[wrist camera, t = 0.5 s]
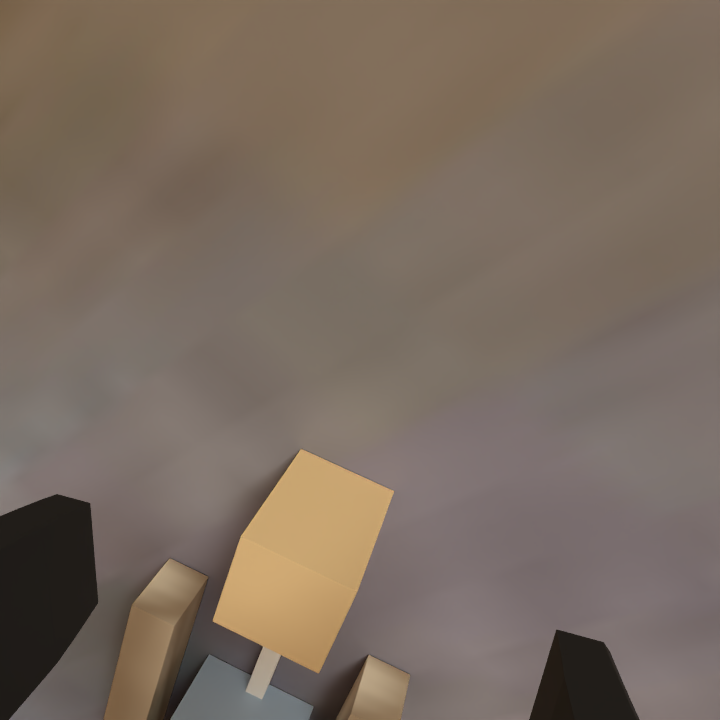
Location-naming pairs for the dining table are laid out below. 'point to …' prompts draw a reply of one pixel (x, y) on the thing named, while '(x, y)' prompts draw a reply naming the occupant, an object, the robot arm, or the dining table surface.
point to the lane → (168, 644)
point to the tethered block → (290, 587)
